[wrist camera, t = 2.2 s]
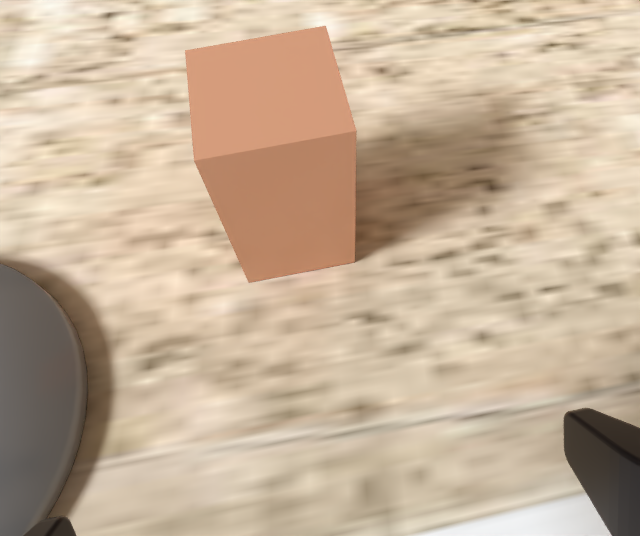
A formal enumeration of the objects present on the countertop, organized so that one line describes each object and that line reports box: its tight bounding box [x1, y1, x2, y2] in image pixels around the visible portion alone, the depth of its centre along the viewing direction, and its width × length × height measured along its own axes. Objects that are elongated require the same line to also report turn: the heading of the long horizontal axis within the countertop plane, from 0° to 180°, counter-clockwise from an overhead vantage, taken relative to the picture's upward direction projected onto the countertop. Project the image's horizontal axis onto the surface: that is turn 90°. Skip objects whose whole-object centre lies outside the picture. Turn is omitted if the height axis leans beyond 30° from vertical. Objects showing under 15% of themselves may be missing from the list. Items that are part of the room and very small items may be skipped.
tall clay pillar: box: [185, 26, 356, 282], centre depth 23 cm, size 6×6×10 cm
